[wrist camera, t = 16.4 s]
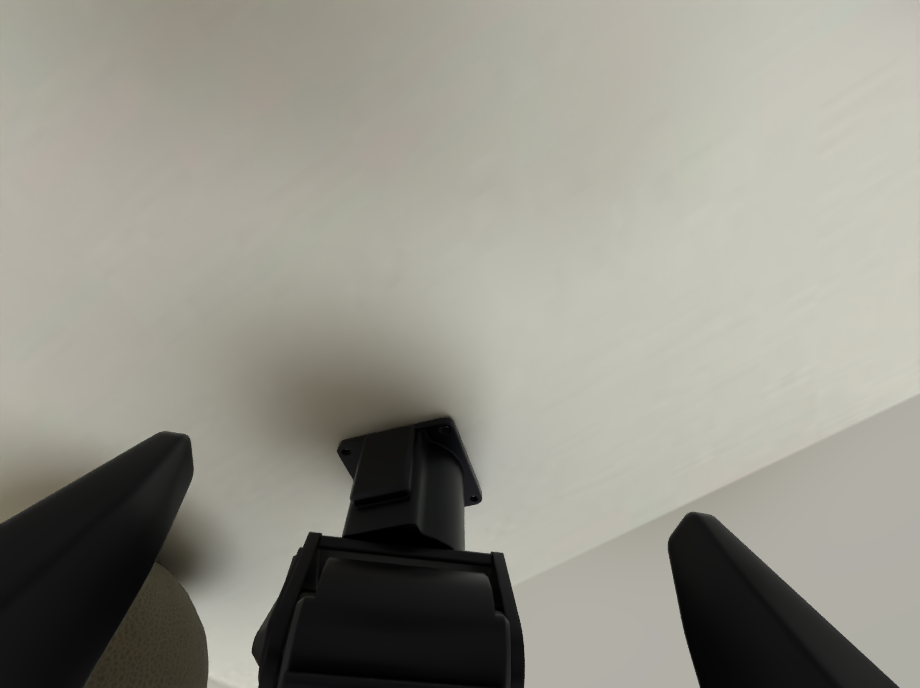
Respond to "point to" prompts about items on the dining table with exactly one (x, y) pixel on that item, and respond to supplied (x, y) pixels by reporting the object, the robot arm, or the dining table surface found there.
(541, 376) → the dining table surface
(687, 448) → the dining table surface
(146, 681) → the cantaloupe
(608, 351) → the dining table surface
